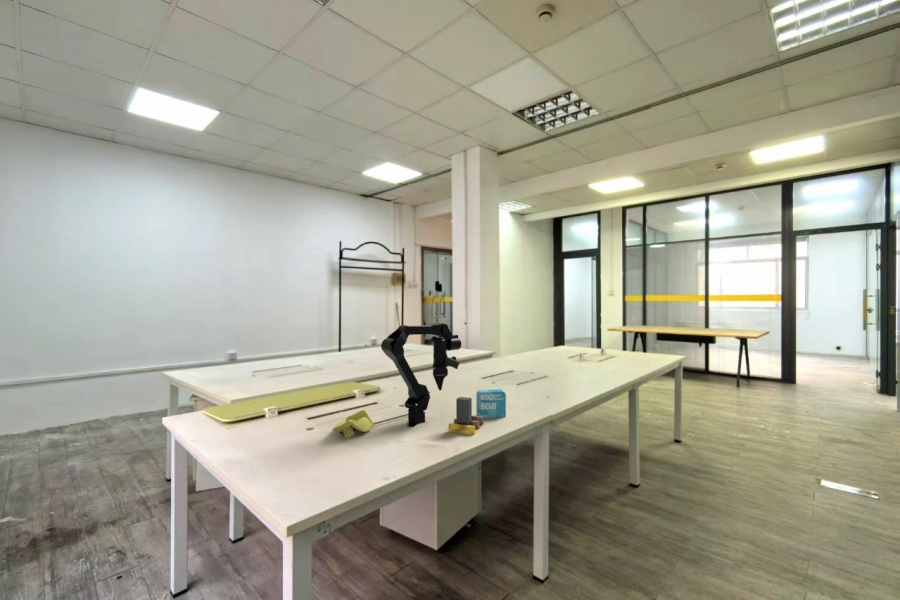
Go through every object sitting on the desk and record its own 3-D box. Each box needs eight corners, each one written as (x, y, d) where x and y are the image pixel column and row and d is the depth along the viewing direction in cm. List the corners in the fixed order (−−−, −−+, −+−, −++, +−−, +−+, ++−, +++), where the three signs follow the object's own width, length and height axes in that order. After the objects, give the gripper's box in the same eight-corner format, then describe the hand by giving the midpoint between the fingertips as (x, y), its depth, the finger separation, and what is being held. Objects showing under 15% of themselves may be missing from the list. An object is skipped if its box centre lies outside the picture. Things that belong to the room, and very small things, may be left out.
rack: (448, 434, 143) (448, 423, 143) (459, 424, 155) (459, 414, 155) (474, 437, 139) (473, 426, 139) (483, 426, 151) (483, 416, 152)
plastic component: (344, 418, 155) (366, 407, 155) (352, 435, 155) (374, 424, 155) (328, 431, 136) (353, 419, 136) (336, 450, 135) (362, 438, 135)
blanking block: (456, 430, 144) (456, 399, 144) (459, 427, 147) (459, 396, 147) (468, 432, 142) (468, 400, 142) (471, 429, 145) (471, 397, 145)
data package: (478, 420, 160) (478, 392, 160) (476, 417, 164) (476, 389, 164) (506, 419, 161) (505, 391, 161) (503, 416, 166) (503, 389, 166)
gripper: (460, 354, 155) (460, 392, 155) (457, 349, 174) (457, 382, 173) (432, 354, 154) (432, 392, 154) (432, 349, 173) (432, 383, 173)
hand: (439, 387), depth 164 cm, fingers open, 9 cm apart
